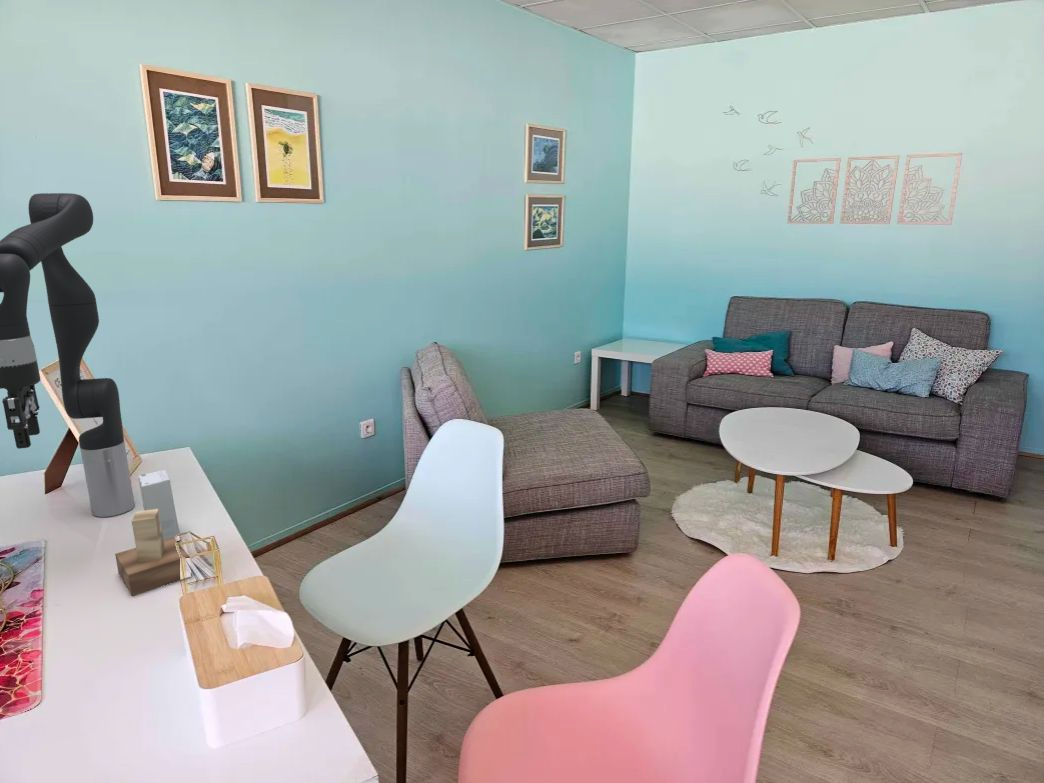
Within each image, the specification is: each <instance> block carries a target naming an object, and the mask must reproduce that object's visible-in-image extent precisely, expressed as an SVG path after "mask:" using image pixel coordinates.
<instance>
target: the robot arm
mask: <svg viewBox="0 0 1044 783" xmlns="http://www.w3.org/2000/svg"><path fill="white" fill-rule="evenodd" d="M28 215H29V222H30V223H29V224H26V225H24V226H20V227H18V228H16V229H14V230H13V231H11V232H8V234H7V235H5V236H4V237H3V238H2V239H0V293H3V297H2V299H1V303H0V389H5V390H6V391H7V392H6V393H7V396H5V397H3V398H2V401H1V402H2V406H3V409H4V410H3V411H4V415H5V420H6V427H7V429H8V431H9V430H11V431H13V438H14V442H15V446H16V449H19V450H21V449H27V448H30V447H31V446H32V443H31V442H32V441H31V436H37V435H39V434H40V432H41V430H40V425H39V420H38V415H39V410H40V405H39V401H38V397H37V392H36V387H35V386H36V384H38V383H39V382H40V381H41V375H40V369H39V365H38V358H37V354H36V349H35V345H34V342H33V339H32V337H31V336H32V335H31V331H30V326H29V322H28V317H27V315H28V314H27V313H28V312H27V309H28V299H29V298H28V297H29V290H30V284H31V271H32V270H33V269H34V268H35V267H37V266H38V265H39V263H41V266H42V272H43V277H44V283H45V287H46V295H47V304H48V307H49V308H48V309H49V313H50V314H49V316H50V320H51V324H52V330H53V333H54V338H55V345H56V349H57V355H58V362H59V363H58V364H59V374H60V386H61V394H62V402H63V407H64V410H65V412H66V414H67V416H68V417H69V418H70V419H72V420H73V419H74V420H79V419H93V418H94V419H95V418H102V423H101V424H99V425H98V426H95V427H93V428H90V429H88V430H86V431H84V432H82V433H81V434H80V435H79V436H78V444H79V449H80V455H81V460H82V465H83V470H84V476H85V481H86V482H85V483H86V488H87V491H88V492H87V494H88V498H89V499H88V500H89V505H90V510H91V515H93V516H95V517H99V518H101V517H102V518H103V517H104V518H107V517H114V516H118V515H122V514H124V513H128V512H129V511H132V509H134V508H135V506H136V503H135V499H134V497H135V496H134V492H133V486H132V479H131V474H130V468H129V461H128V455H127V449H126V443H125V436H124V430H123V429H124V428H123V421H122V420H123V419H122V412H121V403H120V393H119V388H118V385H117V382H116V381H115V380H114V379H113V378H111V377H110V378H108V377H103V378H102V377H100V378H99V377H98V378H88V379H87V378H85V379H81V363H82V359H83V356H84V355H85V352H86V350H87V348H88V346H89V344H90V343H91V342H92V340H93V338H94V336H95V335H96V332H97V330H98V328H99V324H100V319H99V318H100V317H99V311H98V305H97V300H96V295H95V292H94V291H93V289H92V287H91V286H90V285H89V283H88V282H86V280H85V279H84V278H83V277H82V276H81V275H80V273H79V272H78V271H77V270H76V269H75V267H74V266H73V265H72V264H71V263H70V262H69V260H68V258H67V256H66V255H65V252H64V250H63V248H62V247H63V246H65V245H67V244H69V243H70V242H72V241H74V240H76V239H78V238H80V237H83V236H85V235H86V234H87V233H89V232H90V231H91V229H92V228H93V225H94V212H93V209H92V206H91V204H90V202H89V200H88V199H87V198H86V197H85V196H83V195H81V194H78V193H77V194H76V193H70V192H69V193H66V192H65V193H63V192H62V193H61V192H59V193H57V192H56V193H51V192H50V193H48V192H47V193H46V192H45V193H43V192H42V193H40V192H39V193H35V194H33V195H31V196H30V199H29V201H28ZM16 420H19V421H18V422H16Z"/></svg>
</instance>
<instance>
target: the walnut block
mask: <svg viewBox="0 0 1044 783" xmlns="http://www.w3.org/2000/svg"><path fill="white" fill-rule="evenodd" d="M163 541H164V547H165V550H164V553H163V556H162V559H161V560H155V561H148V562H142V563H139V562H138V556H137V550H136V547H134V548H129V549H127V550H124V551H120V552H117V553H115V554H114V555H115V562H116V567H117V572H118V573H117V574H118V575H120V576H119V577H120V579H121V580H123V581H122V582H123V584H124V585H126V586H125V587H126V589H127V588H128V589H127V590H128V592H129V594H130V596H131V597H134V596H137V595H140V594H141V595H142V594H144V593H146V592H149V591H153V590H155V589H159V588H162V587H164V586H163V585H165V586H168V585H171V584H174V583H177V582H181V580H180V557H179V554H178V552H177V550H176V546H175V542H176V543H178V544H180V543H179V542H177V541H176V540H175V538H174V537H172V538H168V539H165V540H163ZM179 549H180V552H181V555H182V556H183V557H185V558H190V555H189V554H188V552H187V551H186V550H185V549H184V548H183V546H181V544H180V545H179ZM170 583H171V584H170ZM167 584H168V585H167ZM161 586H162V587H161ZM158 587H159V588H158Z"/></svg>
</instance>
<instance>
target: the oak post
mask: <svg viewBox="0 0 1044 783" xmlns="http://www.w3.org/2000/svg"><path fill="white" fill-rule="evenodd" d="M131 526H132V531H133V532H132V533H133V538H134V542H135V543H134V544H135V548H136V550H137V556H138V562H139V563H142V562H148V561H155V560H161V559H162V556H163V553H164V550H165V547H164V541H163V535H162V528H161V522H160V516H159V510H158V509H153V510H145V511H144V510H139V511H135V513H134V515H133V517H132V520H131Z"/></svg>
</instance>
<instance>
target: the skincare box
mask: <svg viewBox="0 0 1044 783" xmlns="http://www.w3.org/2000/svg"><path fill="white" fill-rule="evenodd" d="M137 477H138V482H139V488H140V496H141V500H142V507H143V511H145V510H153V509H158V510H159V516H160V522H161V528H162V535H163V540H165V539H168V538H172V537H174V536H175V535H178V534H180V528H179V522H178V517H177V512H176V506H175V501H174V495H173V490H172V485H171V479H170V476H169V473H168V472H167V470H166V469H162V470H157V471H153V472H147V473H144V474H140V475H138V476H137ZM180 535H181V534H180Z"/></svg>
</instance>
